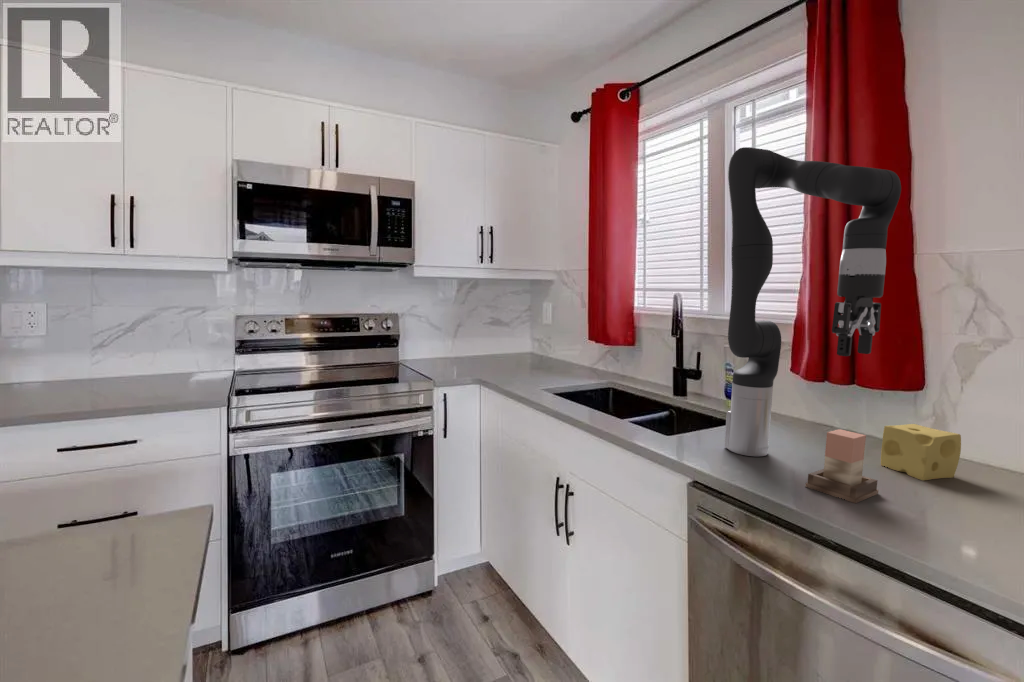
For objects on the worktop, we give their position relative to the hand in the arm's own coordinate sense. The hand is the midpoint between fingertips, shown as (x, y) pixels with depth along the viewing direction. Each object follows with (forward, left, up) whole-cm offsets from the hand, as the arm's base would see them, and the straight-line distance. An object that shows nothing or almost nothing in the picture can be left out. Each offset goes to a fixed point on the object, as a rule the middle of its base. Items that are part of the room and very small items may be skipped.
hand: (853, 354), depth 101 cm
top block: (0, 0, -21) cm, 21 cm away
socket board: (0, 0, -28) cm, 28 cm away
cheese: (+3, +28, -28) cm, 40 cm away
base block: (0, 0, -27) cm, 27 cm away
